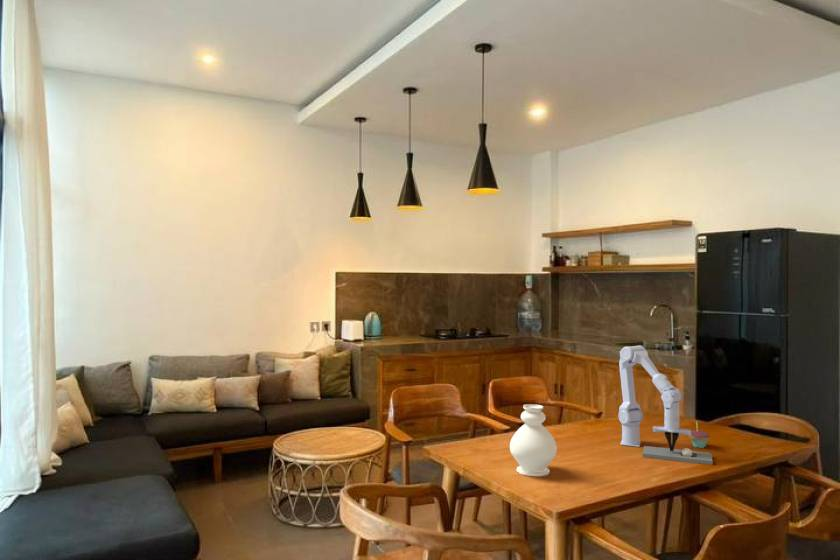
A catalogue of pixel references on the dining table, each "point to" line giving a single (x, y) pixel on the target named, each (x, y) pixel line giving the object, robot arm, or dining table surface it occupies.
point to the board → (677, 455)
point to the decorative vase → (533, 443)
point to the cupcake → (699, 437)
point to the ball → (687, 452)
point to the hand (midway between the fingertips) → (671, 450)
